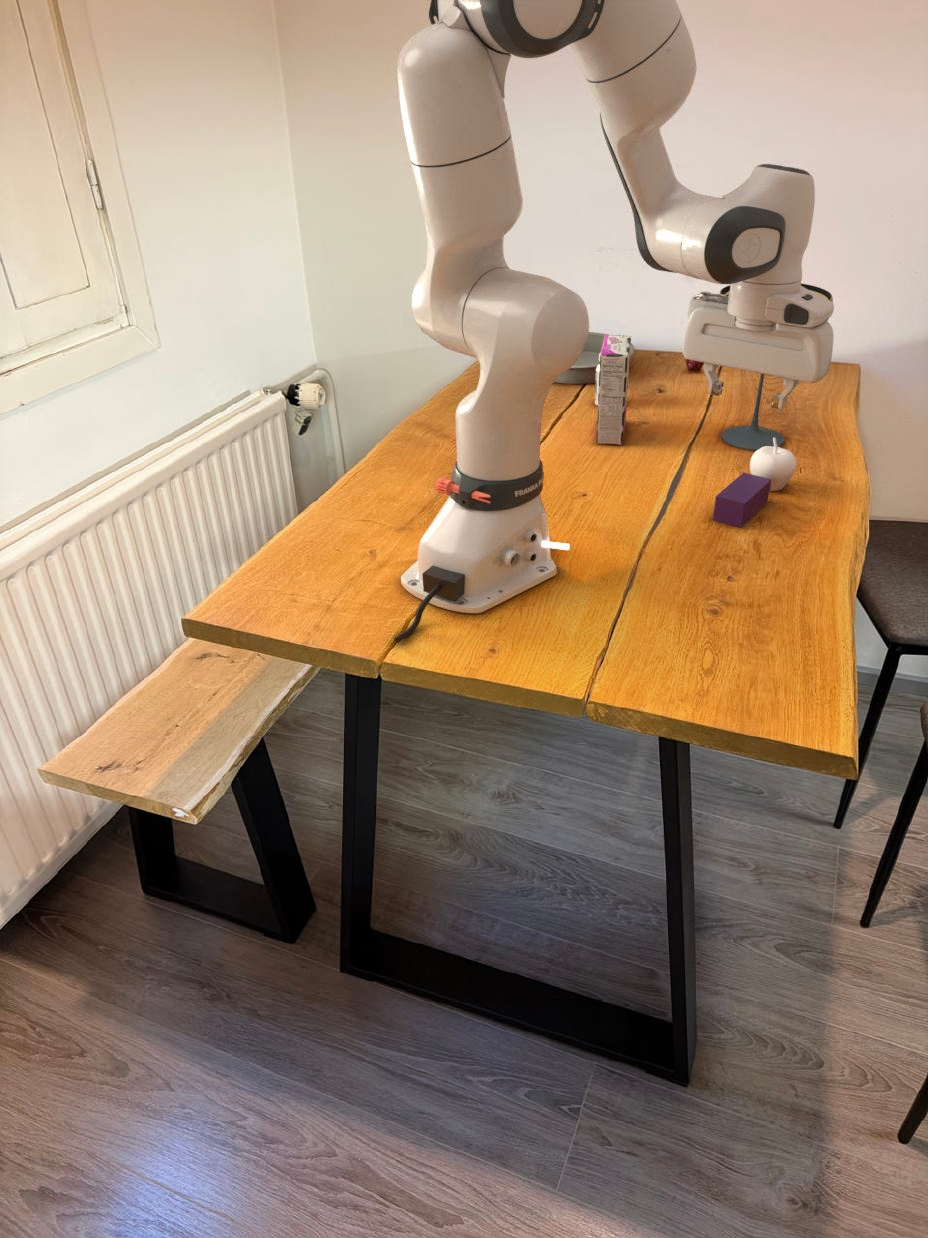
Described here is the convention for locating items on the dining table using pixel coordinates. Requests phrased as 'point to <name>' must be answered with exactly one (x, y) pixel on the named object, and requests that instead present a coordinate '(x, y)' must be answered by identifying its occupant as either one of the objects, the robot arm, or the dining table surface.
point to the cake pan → (586, 362)
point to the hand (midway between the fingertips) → (745, 400)
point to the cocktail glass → (753, 434)
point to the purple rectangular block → (741, 499)
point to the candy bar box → (613, 389)
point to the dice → (694, 365)
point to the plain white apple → (773, 465)
